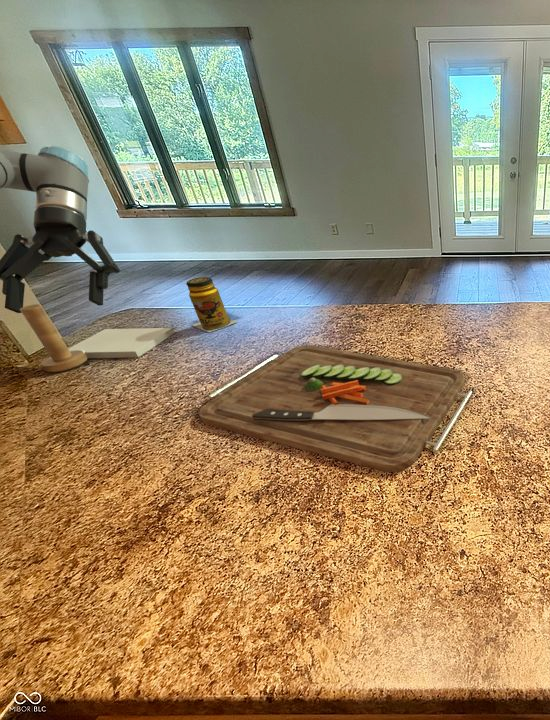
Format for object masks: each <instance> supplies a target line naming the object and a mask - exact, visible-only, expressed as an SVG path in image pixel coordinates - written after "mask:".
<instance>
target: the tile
mask: <svg viewBox="0 0 550 720" xmlns="http://www.w3.org/2000/svg"><path fill="white" fill-rule="evenodd" d="M174 334H175V331H174V328H173V327H140V328H104V329H102V330H101V331H99V332H97V333H95V334H93V335H91V336H89V337H87V338H85V339H84V340H82V341H79V342H78V343H76V344H74V345H71V346H70V347H67V348H68V349H69V351H75V350H80V351H83V352H84V353H85V355H86V356H87V359H116V358H117V359H119V358H120V359H121V358H140V357H141V356H143V355H144V354H146V353H147V352H148V351H150V350H152V349H153V348H155V347H156V346H158V345H159V344H161V343H163V342H164V341H165V340H167V339H169V338H170V337H171V336H173V335H174Z"/></svg>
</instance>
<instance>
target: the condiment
mask: <svg viewBox="0 0 550 720" xmlns="http://www.w3.org/2000/svg"><path fill="white" fill-rule="evenodd" d="M186 286H187V290H188V291H189V293H188V296H189V299H190V302H191V303H192V305H193V308H194V312H195V314H196V315H197V318H198V320H199V322H197V323H194V324H192V325H191V326H192V327H195V328H197V329H199V330H201V331H203V332H206V333H211V332H214V331H218V330H221V329H223V328H226V327H228V326H231V325H233V324H236V323H239V321H237V320H234V319H232V318H230V317H229V315H228V313H227V311H226V307H225V305H224V302H223V300H222V298H221V294H220V292H219V289H218V288H217V287H216V286H215V283H214V281H213V279H212V277H210V276H200V277H195V278H191V279H188V280H187V281H186Z"/></svg>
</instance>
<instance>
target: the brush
mask: <svg viewBox="0 0 550 720" xmlns="http://www.w3.org/2000/svg"><path fill="white" fill-rule="evenodd" d="M20 311H21V312H22V313H21V314H22V316H23V317H24V319H25V320H26V321H27V323H28V325H29V326H30V328H31V329H32V331H33V333H34V334H35V335H36V337H37V338H38V340H39V341H40V343H41V344H42V346H43V347H44V349H45V350H46V352H47V354H48V355H49V356H48V357H47V358H45V359H43V360H42V361H41V362H40V366H41V367H42V369H43V370H44V371H45V372H47V373H49V374H61V373H66V372H69V371H73V370H75V369H78V368H80V367H83V366H84V367H87V366H89V367H91V364H90V362H89V360H88V358H87V356H86V355H85V353H84V352H83V351H80V350H75V351H69V349H68V348H69V347H68V346H67V344H66V343H65V341H64V340H63V338H62V337H61V335H60V333H59V332H58V330H57V329H56V327H55V325H54V324H53V322H52V320H51V319H50V317H49V316H48V314H47V313H46V311H45V309H44V308H43V306H42V305H41V304H29V305H25V306H23V307H22V308H20Z"/></svg>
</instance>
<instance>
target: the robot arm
mask: <svg viewBox="0 0 550 720" xmlns="http://www.w3.org/2000/svg"><path fill="white" fill-rule="evenodd" d="M88 168H89V167H88V163H87V162H86V161H85V159H83V158H82V157H81V156H80V155H79V154H77V153H76V152H74V151H72V150H70V149H68V148H64V147H60V146H55V145H51V146H43V147H41V148H40V150H39V152H38V154H33V153H25V152H23V153H22V152H18V151H12V150H7V149H1V148H0V189H10V190H19V191H27V192H33V193H35V204H34V212H33V213H34V214H33V228H34V231H35V233H34V234H33V236H24V235H22V234H20V233H16V234H15V235H14V236H13V240H12V244H11V245H10V246H9V248H8V249H7V250H6V251H5V253H4V254H3V255H2V257H1V258H0V281H2V288H1V289H2V290H1V292H2V295H5V299H4V309H6V310H9V311H11V312H14V313H16V314H22V312H21V311H20V308H22V307H24V300H25V289H26V283H24V282H23V280H24V279H25V278H26V277H27V276H29V275H30V274H31V273H32V272H34V270H35V269H37V268H38V267H39V266H40V265H41V264H42V263H44V261H49V260H51V259H52V258H60V257H72V256H73V255H76V256H78V258H80V259H81V260H82V261H83V262H84V263H86V264H87V265H88V266H89V267H91V268H92V270H94V271H91V270H90V271H89V280H88V281H89V284H88V301H90V303H93V304H94V305H96V306H99V307H100V306H104V290H107V289H108V287H109V285H108V284H109V276H110V275H111V274H118V273H120V271H121V269H120V268H119V266H118V264H117V263H116V262H115V260H114V259H113V257H112V256H111V254H110V252H109V251H108V250H107V249H106V247H105V246H104V239H103V237H102V236H101V235H100V234H98V233H97V232H96V231H94V230H88V231H87V219H88V192H89V183H90V178H89V169H88ZM86 243H89V244H90V246H91V247H92V249H93V250H94V252H95V253H96V255H97V256H98V258H99V259H100V261H101V262H102V264H103V265H101V263H99V262H97V260H95V259H94V258H93V257H92V256H90V255H89V254H88V253H87V251H85V250H84V249H82V248H83V246H84V245H86ZM40 251H42V252H43V253H41V252H40Z"/></svg>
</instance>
